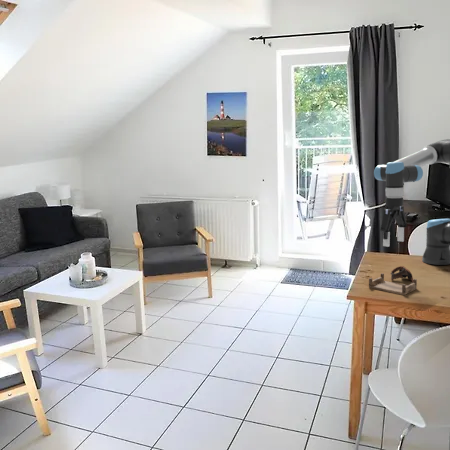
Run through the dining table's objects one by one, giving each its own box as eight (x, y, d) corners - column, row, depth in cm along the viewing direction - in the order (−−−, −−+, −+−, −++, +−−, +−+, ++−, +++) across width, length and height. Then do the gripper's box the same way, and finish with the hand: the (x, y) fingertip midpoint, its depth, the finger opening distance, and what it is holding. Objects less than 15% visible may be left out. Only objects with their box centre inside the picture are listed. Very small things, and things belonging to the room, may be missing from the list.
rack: (381, 282, 233) (381, 273, 232) (416, 288, 221) (416, 279, 220) (368, 288, 225) (369, 278, 224) (404, 295, 213) (404, 285, 212)
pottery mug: (415, 285, 227) (406, 270, 225) (395, 292, 231) (387, 277, 230) (415, 273, 237) (407, 259, 236) (397, 280, 242) (389, 266, 240)
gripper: (399, 193, 228) (398, 238, 231) (372, 199, 211) (372, 247, 214) (415, 194, 223) (413, 240, 226) (388, 200, 206) (388, 249, 209)
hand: (393, 243), depth 220 cm, fingers open, 13 cm apart
